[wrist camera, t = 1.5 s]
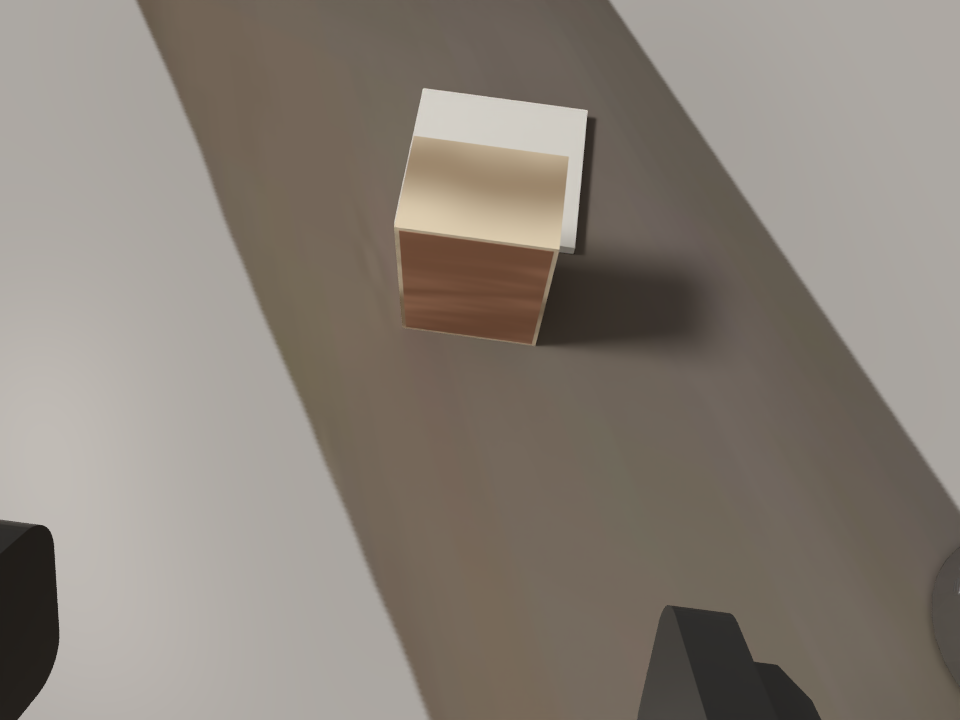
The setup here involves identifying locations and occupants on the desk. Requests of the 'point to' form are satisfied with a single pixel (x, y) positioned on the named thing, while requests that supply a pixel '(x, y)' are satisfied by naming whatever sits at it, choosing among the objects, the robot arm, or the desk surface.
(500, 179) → the maple block
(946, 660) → the robot arm
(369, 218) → the desk surface
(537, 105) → the mat
